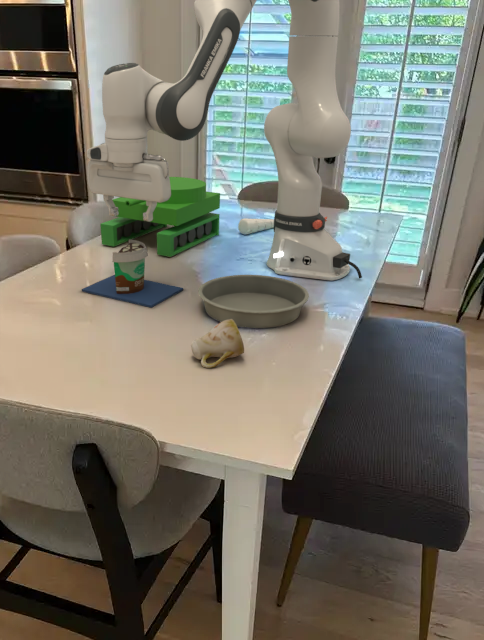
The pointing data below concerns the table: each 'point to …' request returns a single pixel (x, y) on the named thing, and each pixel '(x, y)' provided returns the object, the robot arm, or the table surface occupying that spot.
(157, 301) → the mat
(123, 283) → the food container
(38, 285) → the table surface
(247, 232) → the unicorn horn
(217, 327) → the mug
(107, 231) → the tank
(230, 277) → the cake pan
